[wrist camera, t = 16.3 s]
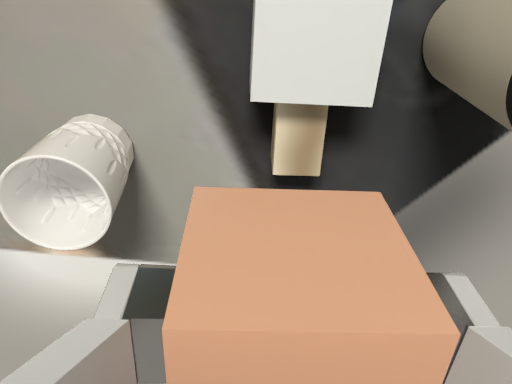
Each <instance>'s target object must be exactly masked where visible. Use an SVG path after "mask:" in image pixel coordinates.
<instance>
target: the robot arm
mask: <svg viewBox="0 0 512 384" xmlns="http://www.w3.org/2000/svg"><path fill="white" fill-rule="evenodd" d="M175 270H176V266H169V265H148V264H141V265H138V264H119V263H118V264H117V265H116V266H115V267H114V268H113V270H112V273H111V275H110V278H109V280H108V282H107V285H106V287H105V290H104V292H103V295H102V297H101V300H100V302H99V305H98V307H97V310H96V312H95V314H94V317H93V319H84V320H83V321H82V322H80V323H79V324H78V325H77V326H75V327H74V328H72V329H71V330H69V331H68V332H67V333H65V334H64V335H63V336H61V337H60V338H59V339H57V340H56V341H55V342H53V343H52V344H51V345H49V346H48V347H46V348H45V349H44V350H43V351H41V352H40V353H38V354H37V355H36V356H34V357H33V358H32V359H30V360H29V361H27V362H26V363H25V364H23V365H22V366H21V367H20V368H18V369H17V370H15V371H14V372H13V373H11V374H10V375H8V376H7V377H6V378H4V379H3V380H2V381H0V384H160V383H161V384H162V383H166V372H165V361H164V349H163V338H162V326H163V322H164V318H165V313H166V309H167V305H168V300H169V296H170V292H171V287H172V283H173V278H174V274H175ZM426 274H427V276H428V277H429V279H430V281H431V283H432V285H433V286H434V288H435V290H436V292H437V293H438V295H439V297H440V299H441V300H442V302H443V304H444V306H445V307H446V309H447V311H448V313H449V315H450V316H451V318H452V320H453V322H454V323H455V325H456V327H457V329H458V330H459V332H460V334H461V335H460V338H459V340H458V343H457V346H456V348H455V351H454V354H453V356H452V359H451V362H450V364H449V367H448V370H447V372H446V375H445V378H444V380H443V383H442V384H512V329H510V328H509V327H501V326H500V325H499V323H498V322H497V320H496V319H495V317H494V316H493V314H492V313H491V311H490V310H489V308H488V307H487V306H486V304H485V303H484V302H483V300H482V298H481V297H480V296H479V294H478V292H477V291H476V290H475V288H474V287H473V285H472V284H471V282H470V281H469V279H468V278H467V277H466V275H464V274H463V273H461V272H438V273H426Z"/></svg>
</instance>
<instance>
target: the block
mask: <svg viewBox="0 0 512 384" xmlns="http://www.w3.org/2000/svg"><path fill="white" fill-rule="evenodd" d="M460 335H461V334H460V332H459V330H458V329H457V327H456V325H455V323H454V322H453V320H452V318H451V316H450V315H449V313H448V311H447V309H446V307H445V306H444V304H443V302H442V300H441V299H440V297H439V295H438V293H437V292H436V290H435V288H434V286H433V285H432V283H431V281H430V279H429V277H428V276H427V274H426V272H425V270H424V269H423V267H422V265H421V264H420V262H419V260H418V258H417V256H416V255H415V253H414V251H413V249H412V247H411V246H410V244H409V242H408V241H407V239H406V237H405V235H404V233H403V232H402V230H401V228H400V226H399V225H398V223H397V221H396V219H395V217H394V216H393V214H392V212H391V210H390V209H389V207H388V205H387V203H386V202H385V200H384V198H383V196H382V195H381V193H380V192H361V191H325V190H290V189H255V188H219V187H194V191H193V196H192V200H191V204H190V209H189V213H188V217H187V222H186V226H185V231H184V235H183V239H182V244H181V248H180V252H179V257H178V261H177V265H176V270H175V274H174V278H173V283H172V287H171V292H170V296H169V300H168V305H167V309H166V313H165V318H164V322H163V326H162V338H163V349H164V361H165V372H166V383H167V384H442V383H443V380H444V378H445V375H446V372H447V370H448V367H449V364H450V362H451V359H452V356H453V354H454V351H455V348H456V346H457V343H458V340H459V338H460Z"/></svg>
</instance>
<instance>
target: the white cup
mask: <svg viewBox="0 0 512 384" xmlns="http://www.w3.org/2000/svg"><path fill="white" fill-rule="evenodd" d="M133 159H134V154H133V146H132V141H131V140H130V138H129V137H128V135H127V134H126V132H125V131H124V129H123V128H122V127H121V126H119V125H118V124H116V123H115V122H113V121H112V120H111V119H109V118H107V117H103V116H98V115H94V114H86V115H81V116H77V117H73V118H72V119H71V120H69V121H68V122H67V123H66V124H65V125H63V126H62V127H60V128H58V129H56V130H54V131H53V132H51V133H50V134H49V135H47V136H46V137H45V138H43V139H42V140H40V141H39V142H38V143H36V144H35V145H34V146H33V147H32V148H31V149H29V150H28V151H27V152H26V153H24V154H23V155H22V156H20V157H19V158H18V159H17V160H15V161H14V162H13V163H12V164H10V165H9V166H8V167H7V168H6V169H5V170H4V171H3V173H2V174H1V176H0V211H1V213H2V215H3V217H4V218H5V220H6V221H7V223H8V224H9V225H10V226H11V227H12V228H13V229H14V230H15V231H16V232H17V233H18V234H20V235H21V236H22V237H24V238H25V239H27V240H29V241H31V242H33V243H35V244H37V245H39V246H42V247H45V248H49V249H54V250H63V251H69V250H78V249H82V248H85V247H88V246H90V245H92V244H94V243H95V242H97V241H98V240H99V239H101V238H102V237H103V235H104V234H105V233H106V231H107V230H108V228H109V225H110V223H111V220H112V218H113V215H114V213H115V210H116V208H117V205H118V203H119V200H120V198H121V196H122V193H123V189H124V187H125V184H126V181H127V179H128V172H129V169H130V167H131V164H132V162H133Z"/></svg>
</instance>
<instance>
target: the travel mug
mask: <svg viewBox="0 0 512 384" xmlns="http://www.w3.org/2000/svg"><path fill="white" fill-rule="evenodd" d="M423 57H424V61H425V64H426V67H427V69H428V70H429V72H430V73H431V75H432V76H433V77H434V78H435V79H436V80H438V81H439V82H441V83H442V84H444V85H445V86H446V87H448V88H449V89H451V90H452V91H454V92H455V93H457V94H458V95H459V96H461V97H462V98H464V99H465V100H467V101H468V102H470V103H471V104H472V105H474V106H475V107H477V108H478V109H480V110H481V111H483V112H484V113H486V114H487V115H488V116H490V117H491V118H493V119H494V120H496V121H497V122H499V123H500V124H501V125H503V126H504V127H506V128H507V129H509V130H510V131H512V0H446V1H445V2H444V3H443V4H442V5H441V6H440V7H439V8H438V10H437V11H436V12H435V14H434V15H433V17H432V18H431V20H430V22H429V24H428V26H427V29H426V32H425V35H424V40H423Z"/></svg>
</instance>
